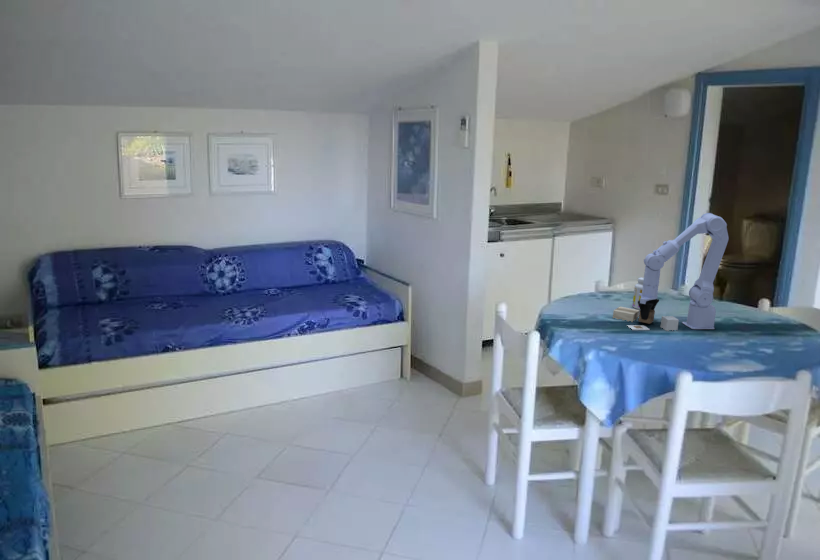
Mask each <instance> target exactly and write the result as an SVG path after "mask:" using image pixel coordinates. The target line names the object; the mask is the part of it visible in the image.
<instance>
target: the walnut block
mask: <svg viewBox="0 0 820 560" xmlns="http://www.w3.org/2000/svg"><path fill="white" fill-rule="evenodd" d="M655 314H656V310H655V309H654V310H650V312H649V316H648V319H647V320H644V319H641V312H640V311H639V318H638V319H637V321H638V322H640V323H643V324H648V325H650V324H652V323H653V322H654V321H655Z"/></svg>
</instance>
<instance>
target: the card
mask: <svg viewBox="0 0 820 560" xmlns="http://www.w3.org/2000/svg"><path fill="white" fill-rule="evenodd" d="M627 326H628V327H627ZM626 327H627V328H629V329H630V328H631V329H632V331H650V328H648V327H647V326H646V325H643V324H642V325H640V324H639V325H638V324H635V325H634V324H630V325H626ZM631 329H630V330H631Z"/></svg>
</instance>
